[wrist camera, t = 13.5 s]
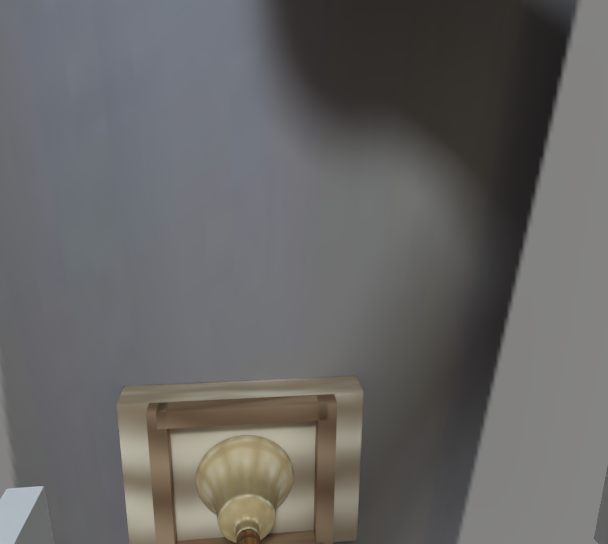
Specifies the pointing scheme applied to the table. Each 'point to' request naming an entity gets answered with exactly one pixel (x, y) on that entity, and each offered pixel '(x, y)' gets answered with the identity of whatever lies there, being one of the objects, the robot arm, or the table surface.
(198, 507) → the stand
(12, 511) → the robot arm
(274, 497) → the hand bell
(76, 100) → the table surface
